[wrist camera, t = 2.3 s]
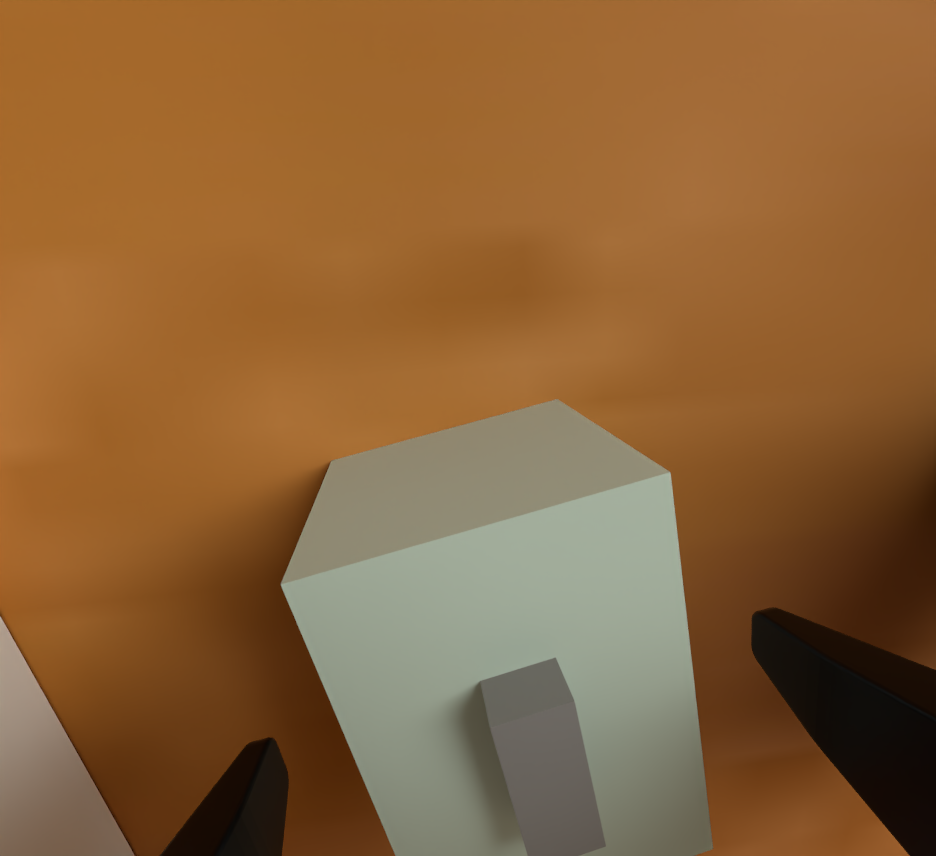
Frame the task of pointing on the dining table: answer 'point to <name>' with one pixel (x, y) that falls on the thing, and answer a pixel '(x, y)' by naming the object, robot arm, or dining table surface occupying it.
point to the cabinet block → (508, 640)
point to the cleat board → (45, 775)
